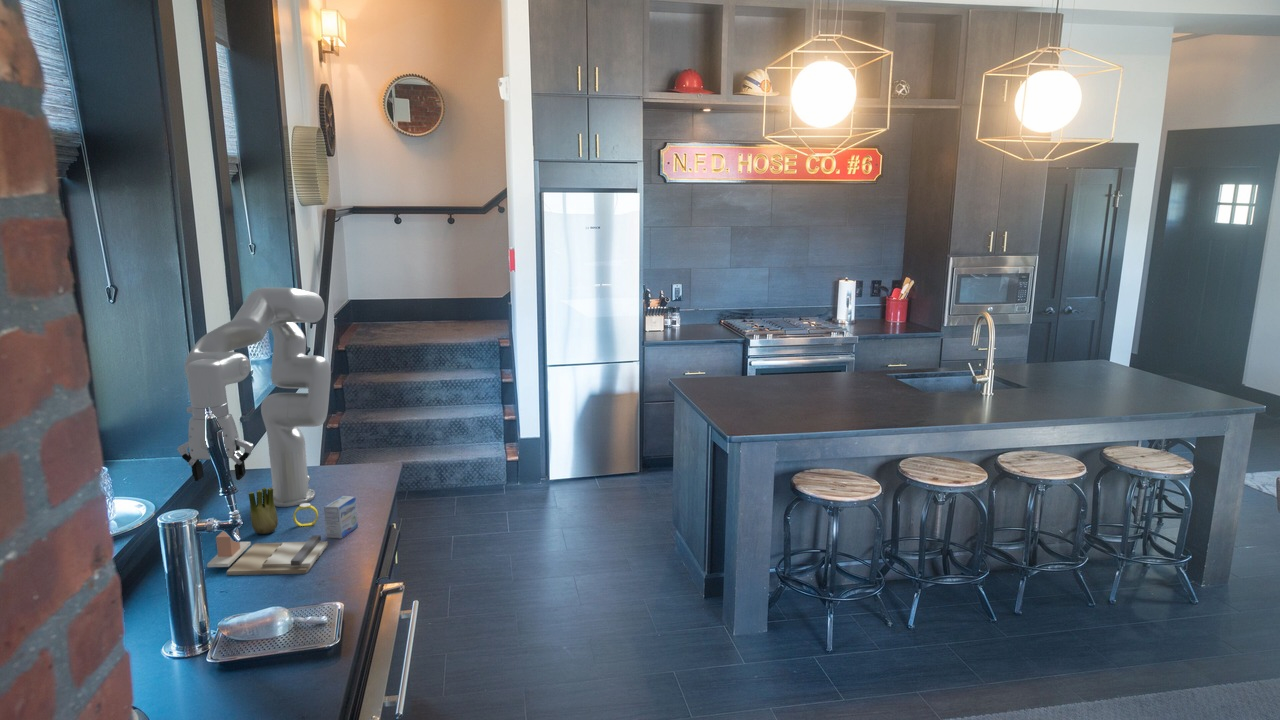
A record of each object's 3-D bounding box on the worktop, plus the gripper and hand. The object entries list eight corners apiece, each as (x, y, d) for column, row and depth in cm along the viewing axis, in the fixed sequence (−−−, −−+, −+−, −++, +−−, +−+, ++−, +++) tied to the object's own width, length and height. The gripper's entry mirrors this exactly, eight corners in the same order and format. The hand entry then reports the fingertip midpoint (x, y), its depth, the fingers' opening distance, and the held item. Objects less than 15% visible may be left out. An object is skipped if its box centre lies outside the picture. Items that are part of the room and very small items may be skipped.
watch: (318, 523, 212) (318, 502, 211) (317, 527, 209) (317, 506, 208) (294, 524, 210) (294, 503, 209) (293, 528, 207) (292, 507, 206)
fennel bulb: (251, 537, 202) (246, 493, 200) (256, 529, 207) (252, 486, 205) (275, 535, 203) (271, 491, 201) (280, 527, 208) (275, 484, 206)
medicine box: (341, 539, 201) (339, 507, 199) (325, 538, 202) (323, 506, 200) (358, 527, 209) (356, 496, 207) (343, 525, 209) (340, 495, 208)
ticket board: (255, 546, 196) (253, 535, 196) (330, 545, 197) (329, 534, 197) (227, 575, 182) (225, 563, 181) (308, 573, 183) (307, 561, 182)
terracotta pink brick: (231, 544, 194) (228, 523, 193) (250, 544, 195) (248, 522, 194) (207, 567, 183) (204, 544, 182) (228, 566, 183) (225, 543, 182)
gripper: (164, 417, 182) (175, 485, 186) (241, 415, 183) (250, 483, 187) (180, 407, 189) (190, 473, 193) (254, 405, 190) (262, 471, 195)
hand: (219, 478), depth 190 cm, fingers open, 9 cm apart
